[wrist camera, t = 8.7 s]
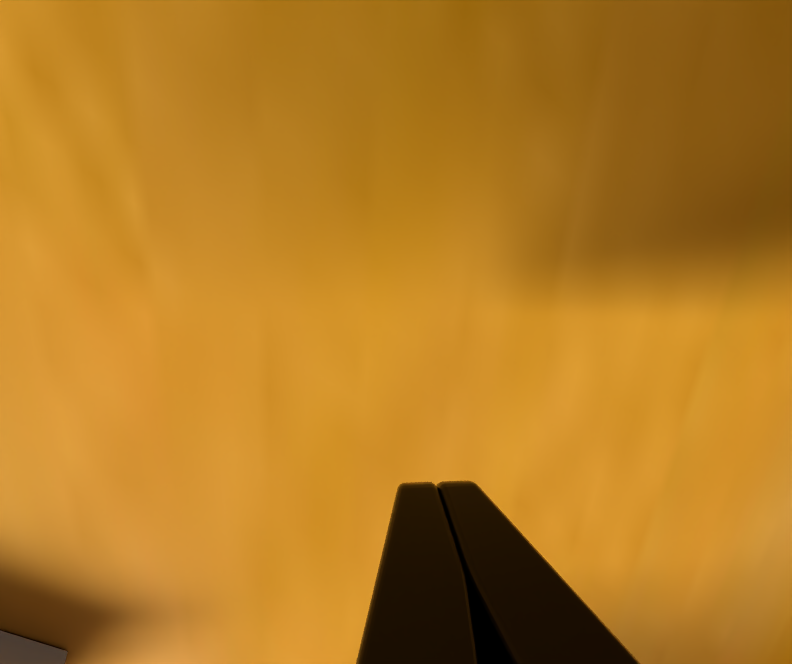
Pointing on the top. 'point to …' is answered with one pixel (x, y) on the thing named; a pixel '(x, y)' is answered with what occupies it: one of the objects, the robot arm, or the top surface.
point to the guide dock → (28, 651)
